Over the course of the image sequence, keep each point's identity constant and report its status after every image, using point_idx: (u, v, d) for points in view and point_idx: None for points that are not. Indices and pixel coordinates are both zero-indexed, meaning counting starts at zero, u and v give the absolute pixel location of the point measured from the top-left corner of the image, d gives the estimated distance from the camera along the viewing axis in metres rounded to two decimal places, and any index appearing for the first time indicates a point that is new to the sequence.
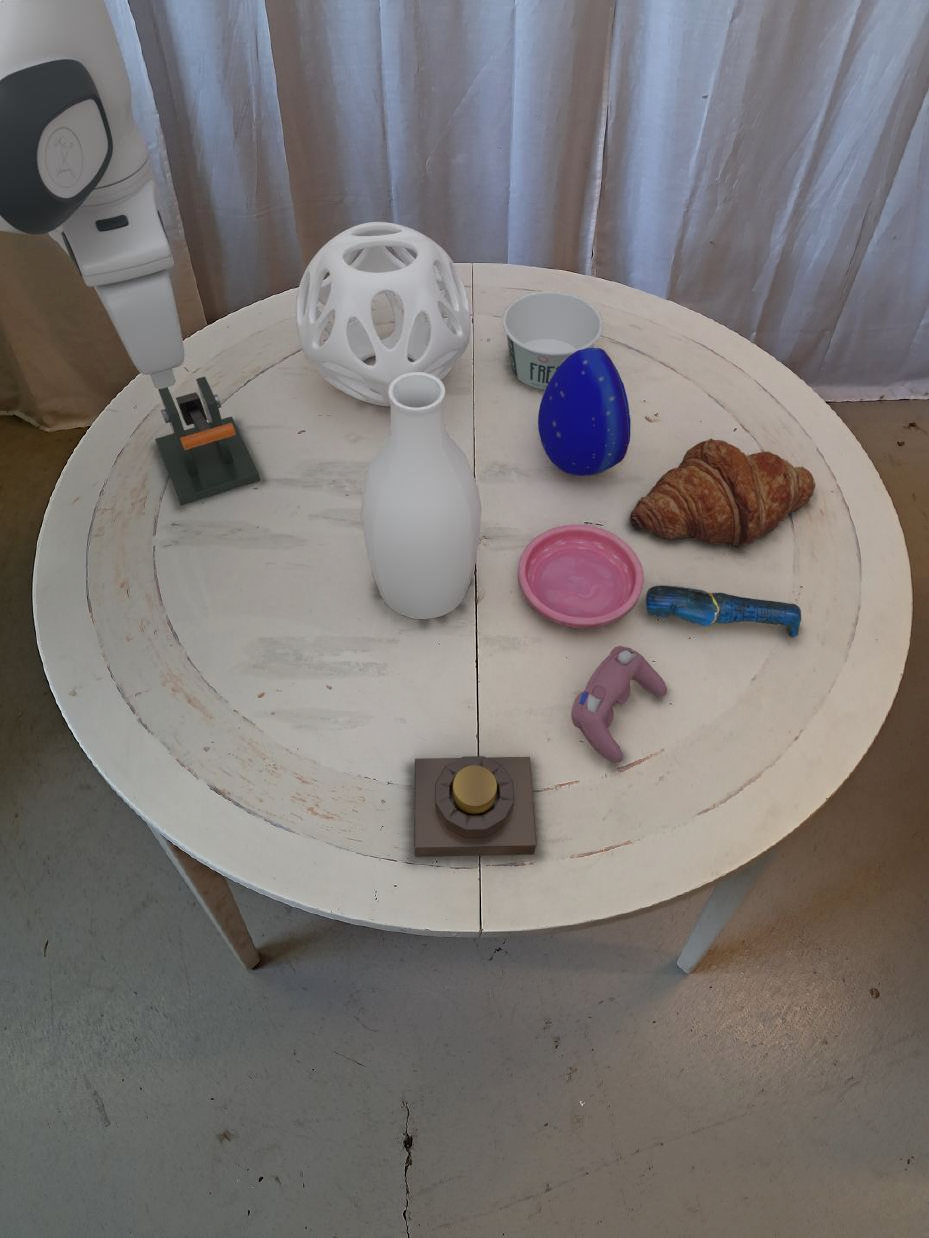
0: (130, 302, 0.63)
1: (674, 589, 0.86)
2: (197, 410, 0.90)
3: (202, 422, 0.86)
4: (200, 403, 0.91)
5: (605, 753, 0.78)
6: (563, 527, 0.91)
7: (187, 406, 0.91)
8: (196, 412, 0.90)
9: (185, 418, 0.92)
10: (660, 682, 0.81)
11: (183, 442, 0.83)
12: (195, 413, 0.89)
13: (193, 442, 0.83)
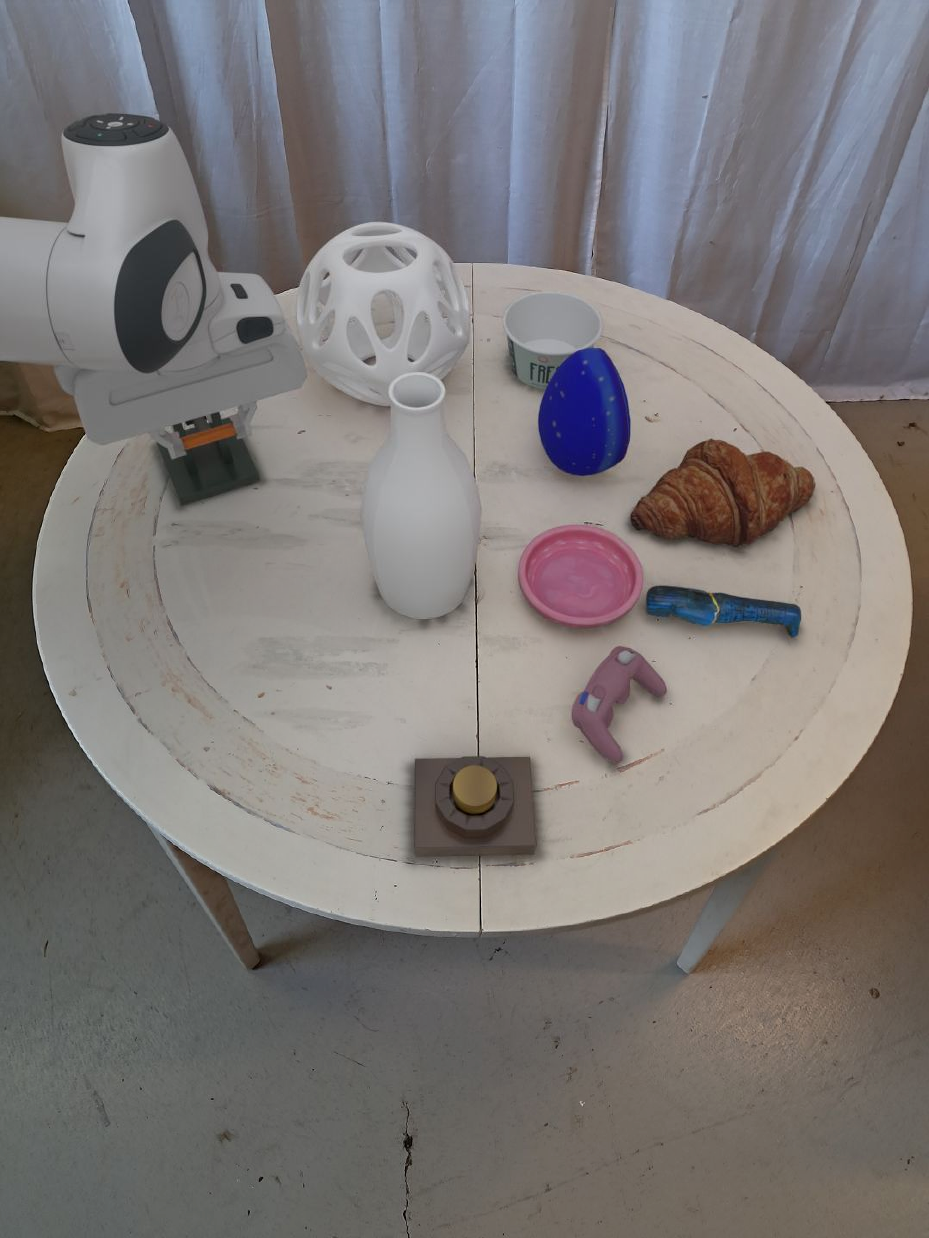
0: (288, 326, 0.78)
1: (674, 589, 0.86)
2: None
3: (202, 422, 0.86)
4: None
5: (605, 753, 0.78)
6: (563, 527, 0.91)
7: None
8: None
9: None
10: (660, 682, 0.81)
11: (183, 442, 0.83)
12: None
13: (193, 442, 0.83)
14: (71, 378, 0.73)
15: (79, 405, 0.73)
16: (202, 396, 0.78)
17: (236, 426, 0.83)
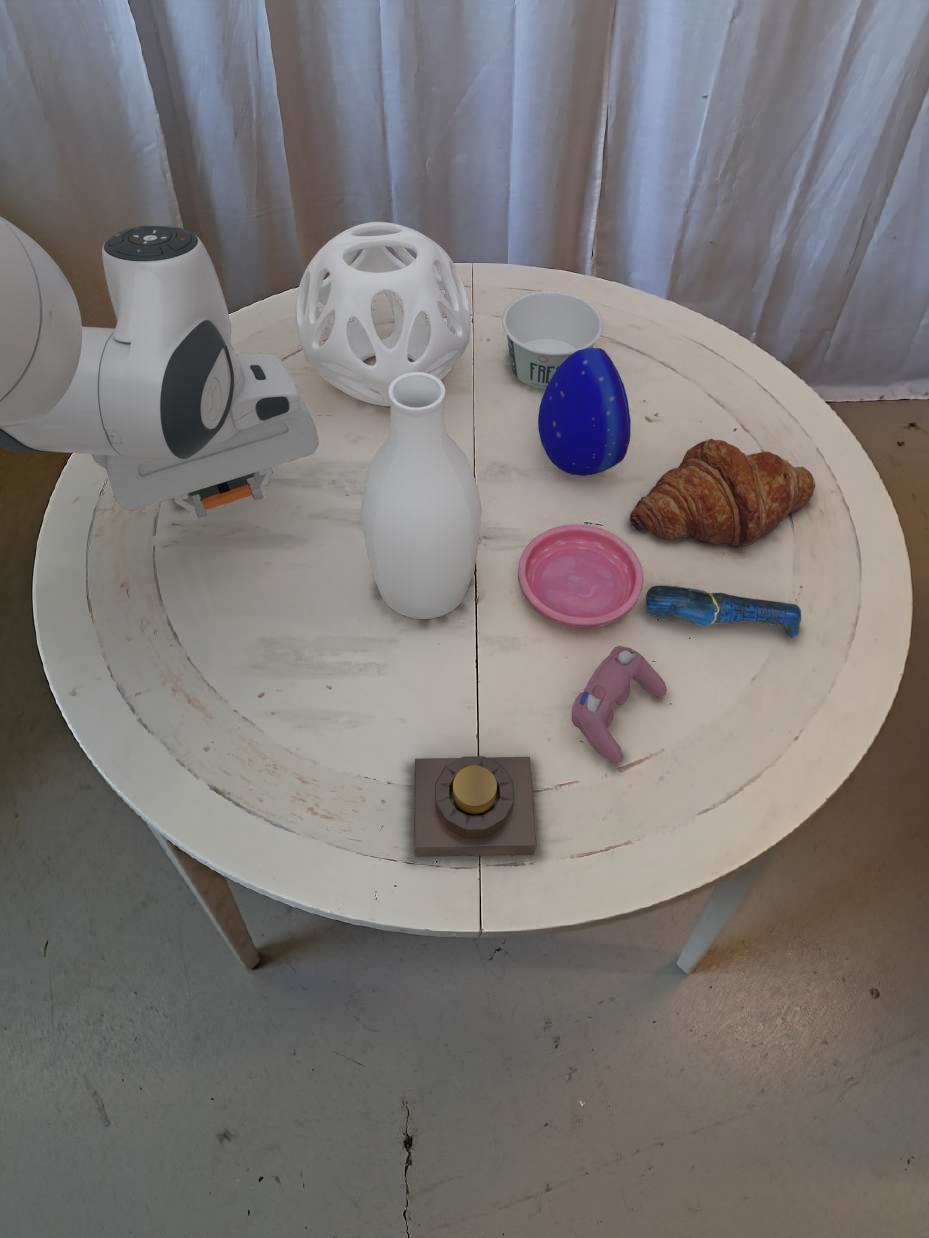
0: (302, 401, 0.84)
1: (674, 589, 0.86)
2: None
3: None
4: None
5: (605, 753, 0.78)
6: (563, 527, 0.91)
7: None
8: None
9: None
10: (660, 682, 0.81)
11: (205, 507, 0.89)
12: None
13: (214, 506, 0.89)
14: None
15: (111, 477, 0.80)
16: (222, 464, 0.84)
17: (253, 488, 0.90)
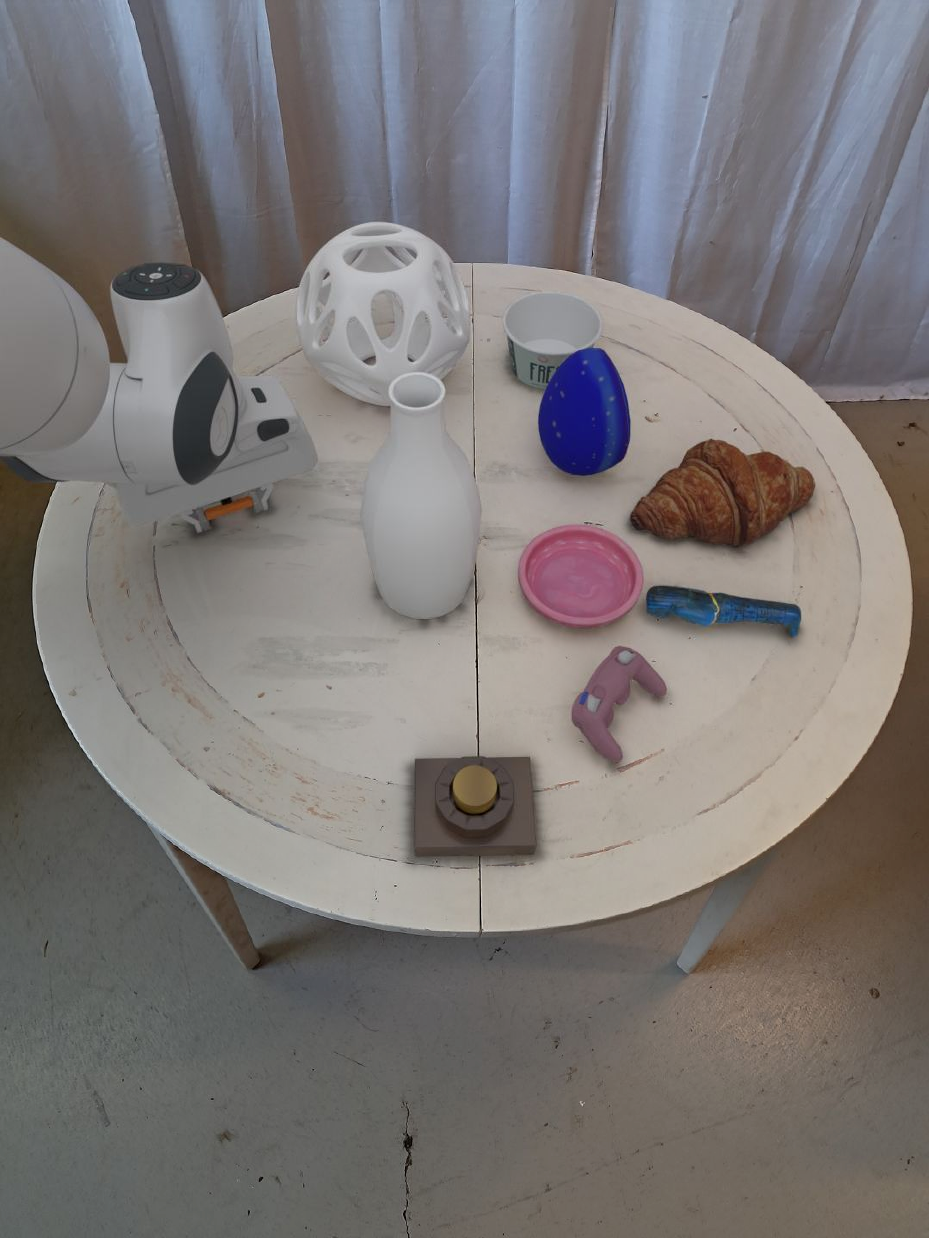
0: (301, 420, 0.88)
1: (674, 589, 0.86)
2: None
3: None
4: None
5: (605, 753, 0.78)
6: (563, 527, 0.91)
7: None
8: None
9: None
10: (660, 682, 0.81)
11: (208, 519, 0.93)
12: None
13: (216, 517, 0.93)
14: None
15: (120, 496, 0.84)
16: (226, 482, 0.88)
17: (254, 502, 0.94)
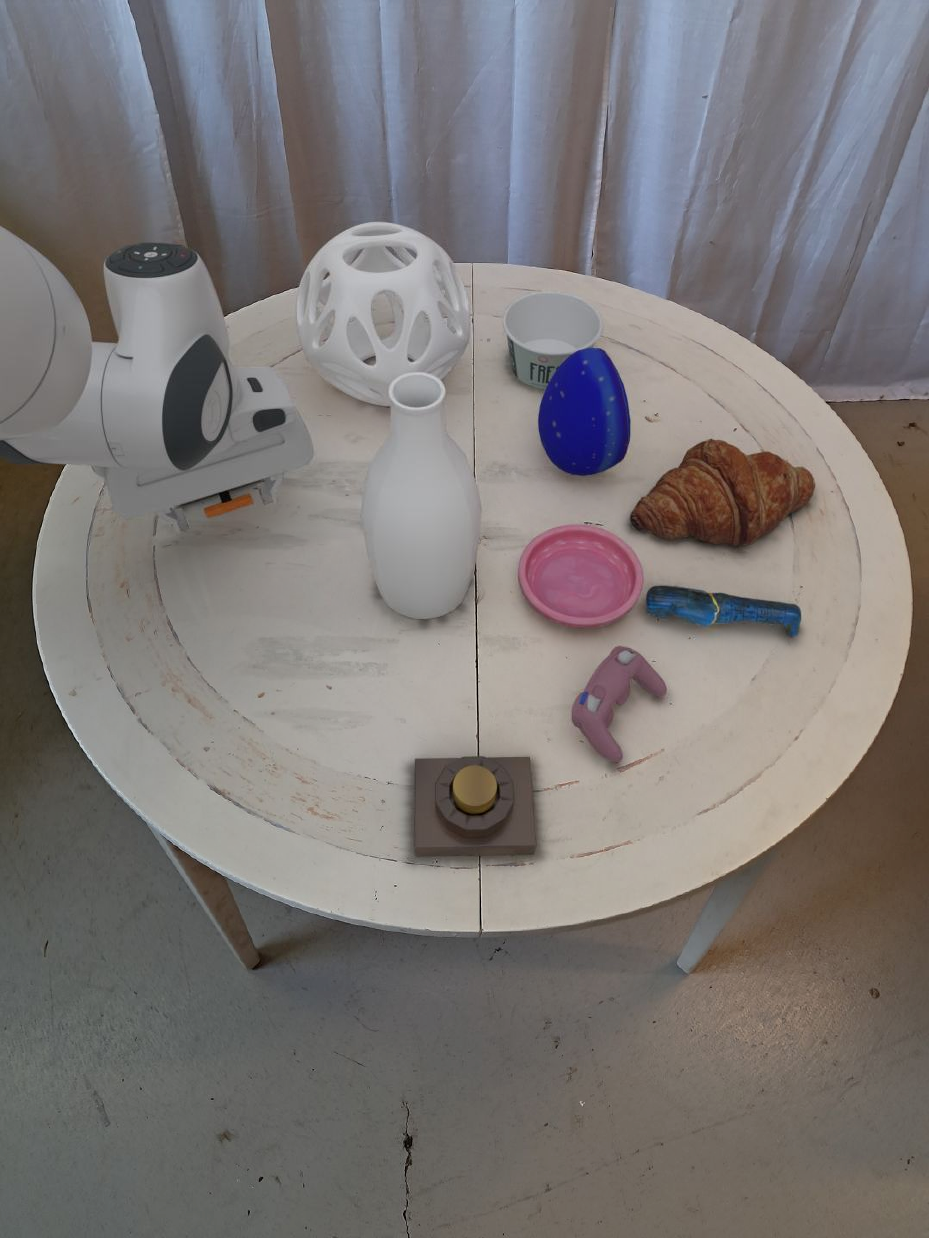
0: (298, 412, 0.86)
1: (674, 589, 0.86)
2: None
3: None
4: None
5: (605, 753, 0.78)
6: (563, 527, 0.91)
7: None
8: None
9: None
10: (660, 682, 0.81)
11: (208, 517, 0.92)
12: None
13: (216, 515, 0.92)
14: None
15: (110, 487, 0.81)
16: (219, 475, 0.86)
17: (263, 493, 0.92)
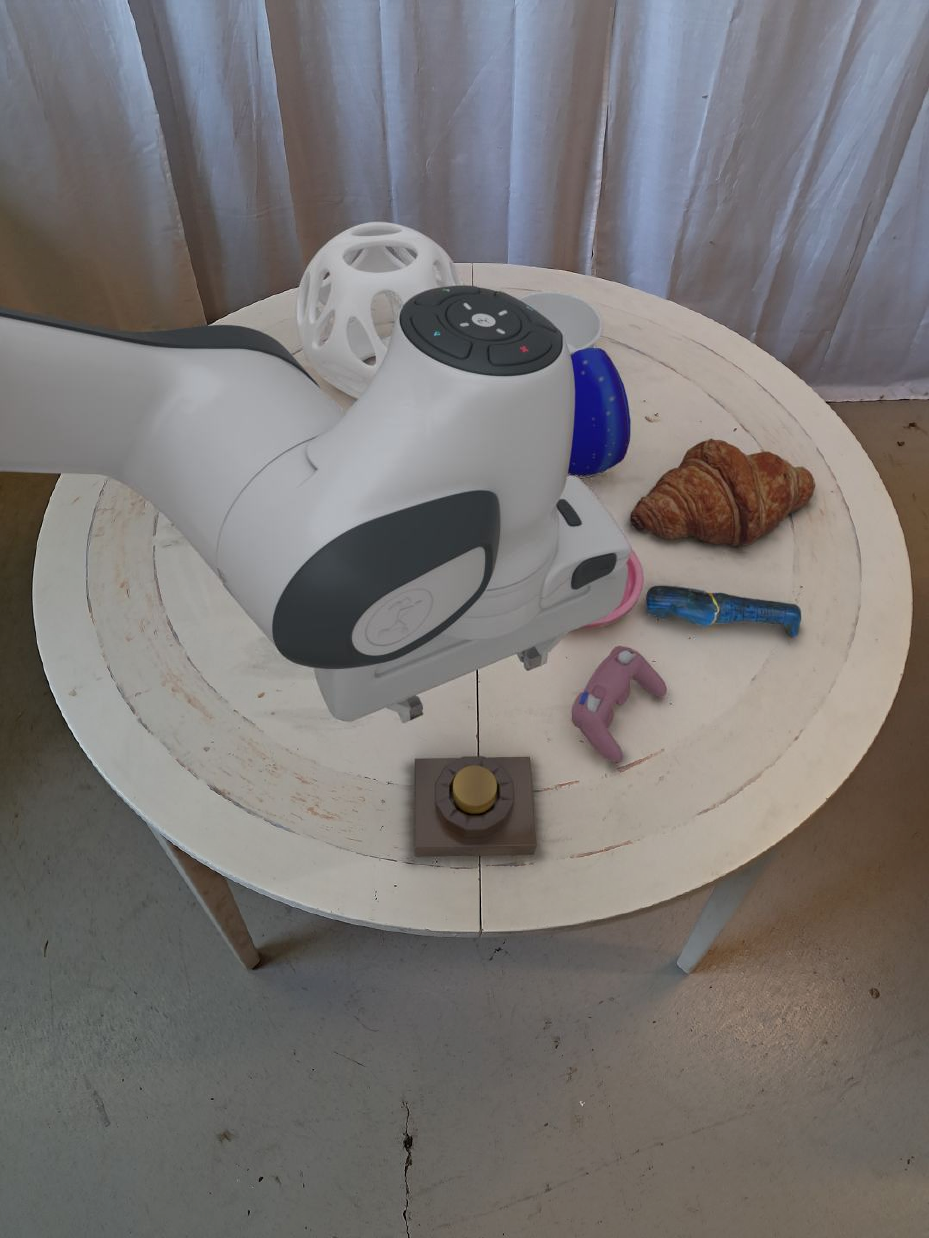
0: None
1: (674, 589, 0.86)
2: None
3: None
4: None
5: (605, 753, 0.78)
6: None
7: None
8: None
9: None
10: (660, 682, 0.81)
11: None
12: None
13: None
14: None
15: (334, 684, 0.50)
16: (490, 646, 0.54)
17: (531, 656, 0.60)
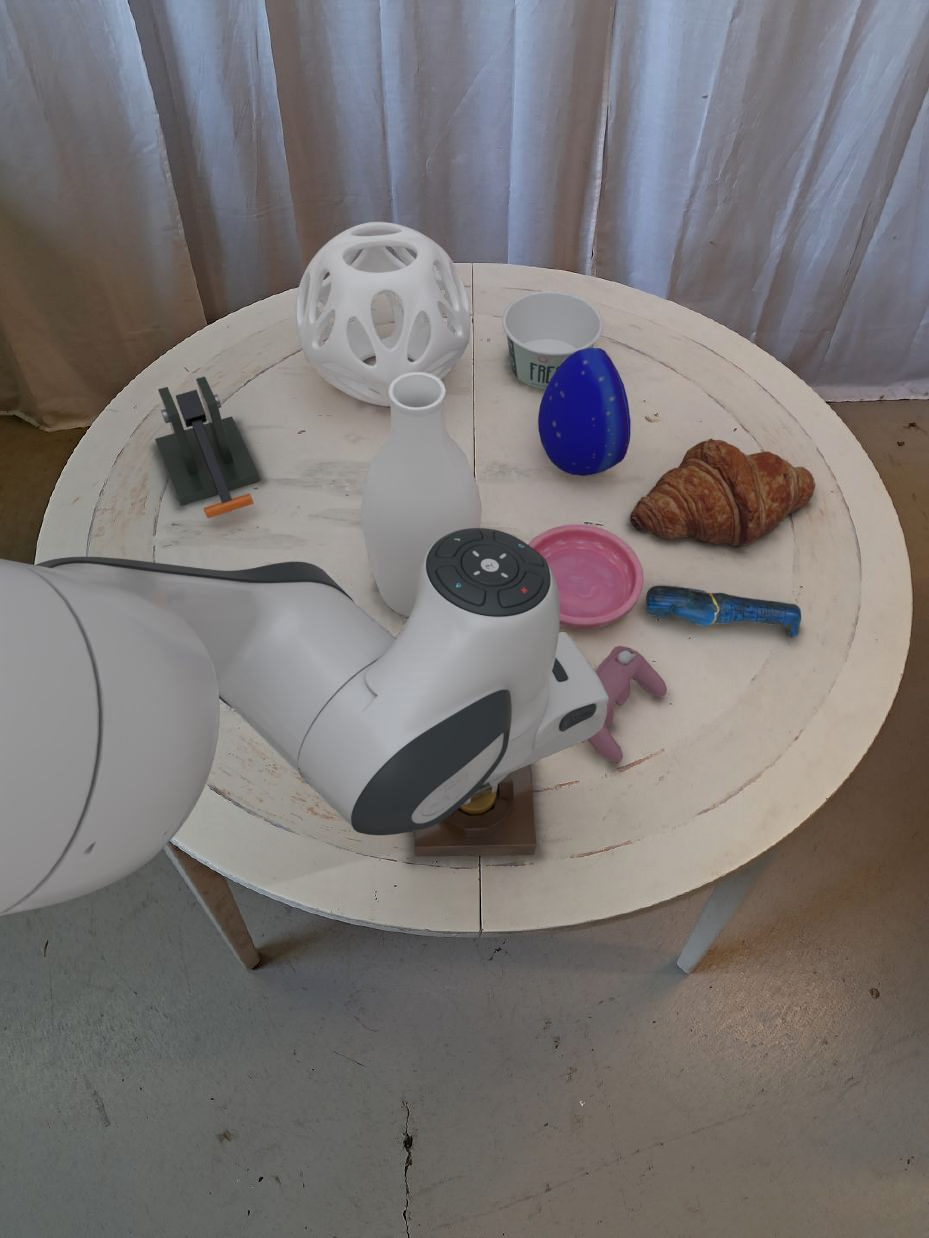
0: None
1: (674, 589, 0.86)
2: (204, 434, 0.92)
3: (218, 474, 0.92)
4: (204, 416, 0.92)
5: (605, 753, 0.78)
6: (563, 527, 0.91)
7: (192, 419, 0.92)
8: (204, 438, 0.92)
9: (187, 425, 0.93)
10: (660, 682, 0.81)
11: (208, 517, 0.92)
12: (204, 443, 0.92)
13: (216, 515, 0.92)
14: None
15: None
16: None
17: (483, 787, 0.70)
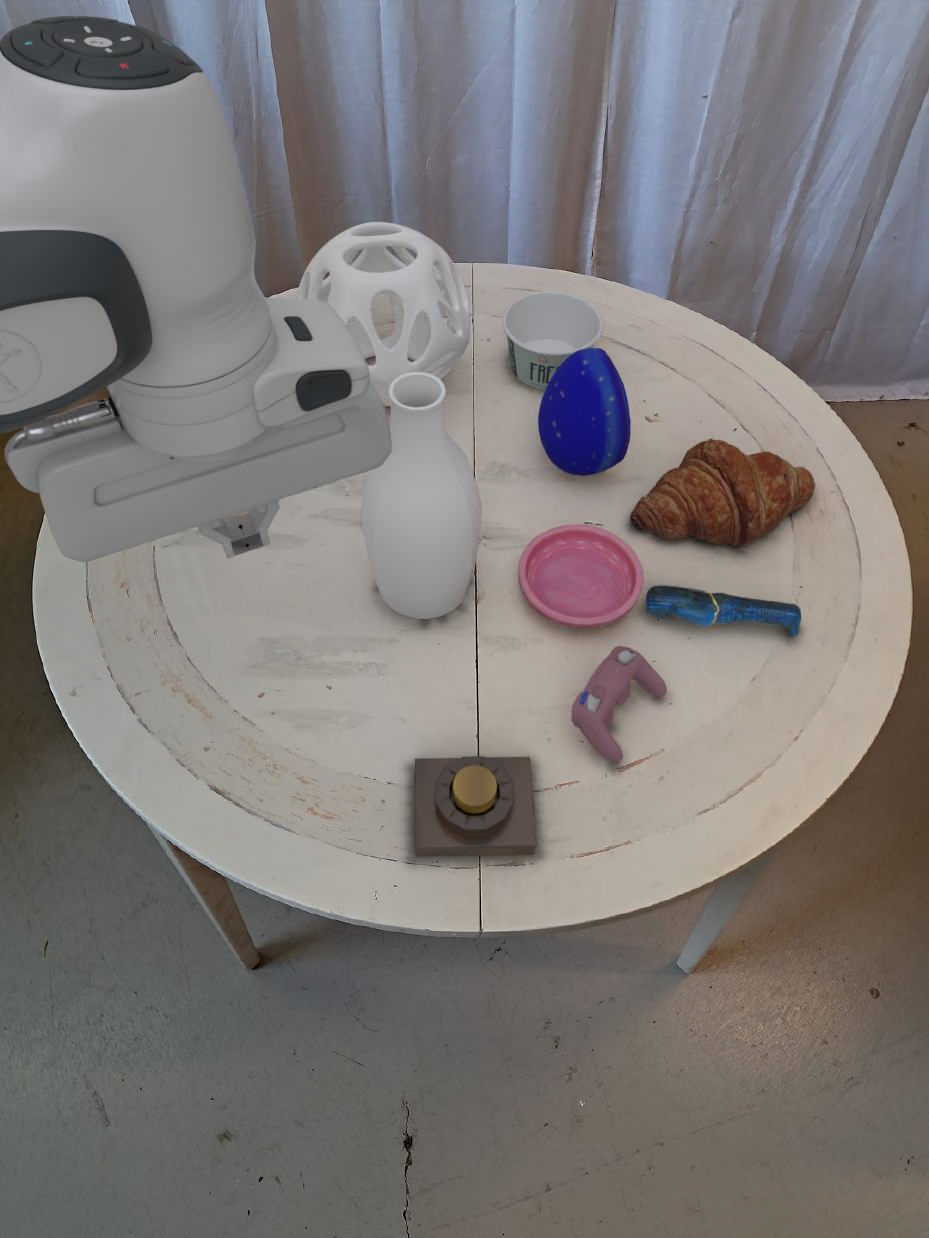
0: None
1: (674, 589, 0.86)
2: None
3: None
4: None
5: (605, 753, 0.78)
6: (563, 527, 0.91)
7: None
8: None
9: None
10: (660, 682, 0.81)
11: None
12: None
13: None
14: (34, 468, 0.46)
15: (46, 509, 0.47)
16: (237, 485, 0.51)
17: (247, 533, 0.56)
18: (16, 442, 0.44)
